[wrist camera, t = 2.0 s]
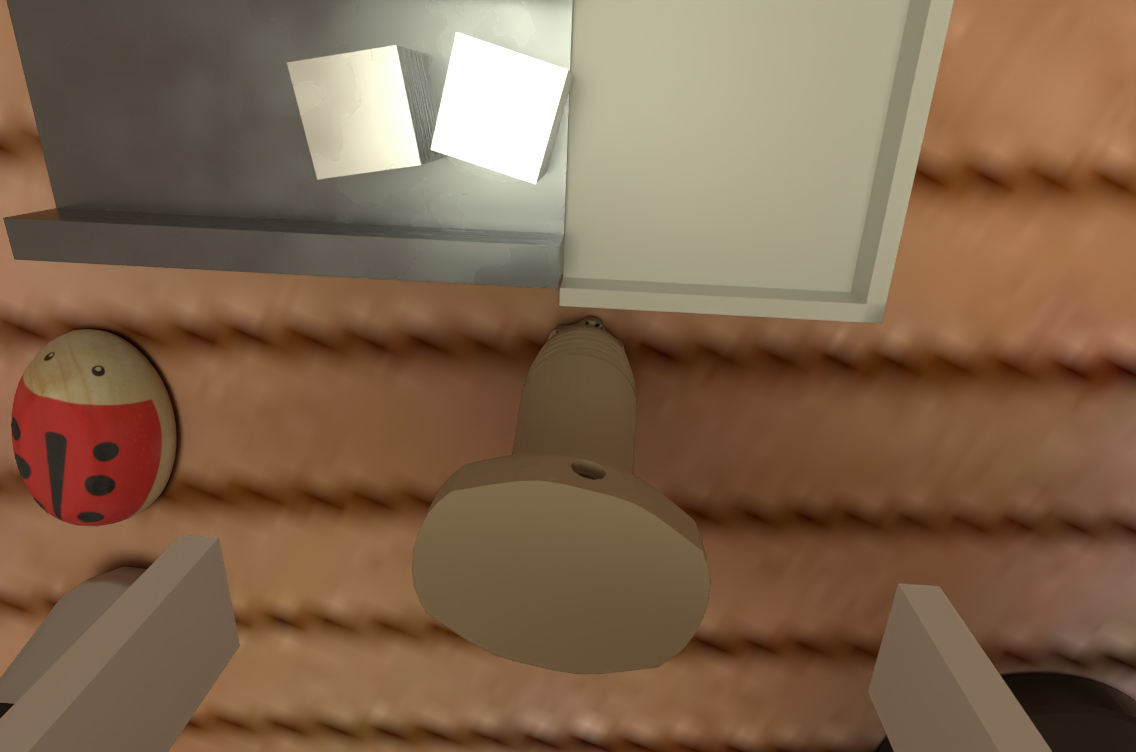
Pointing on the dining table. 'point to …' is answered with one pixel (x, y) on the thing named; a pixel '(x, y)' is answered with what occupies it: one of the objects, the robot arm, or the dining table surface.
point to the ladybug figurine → (93, 429)
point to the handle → (565, 529)
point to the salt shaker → (64, 629)
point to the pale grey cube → (500, 109)
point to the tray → (745, 153)
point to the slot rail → (269, 143)
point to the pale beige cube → (366, 110)
